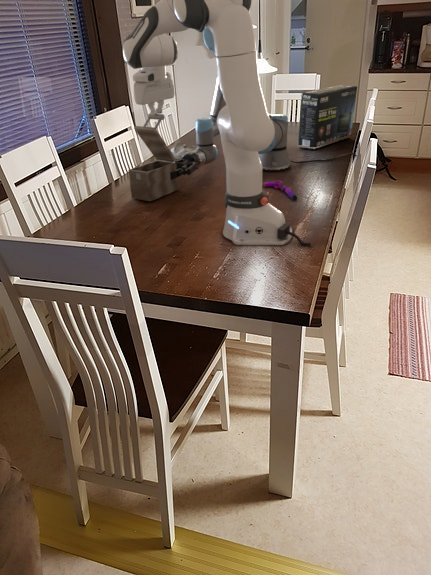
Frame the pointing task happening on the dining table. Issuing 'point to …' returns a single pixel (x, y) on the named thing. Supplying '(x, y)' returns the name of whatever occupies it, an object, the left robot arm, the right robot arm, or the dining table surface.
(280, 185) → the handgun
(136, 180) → the chest
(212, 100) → the right robot arm
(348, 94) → the router box
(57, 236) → the dining table surface
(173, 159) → the lid
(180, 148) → the fossil
